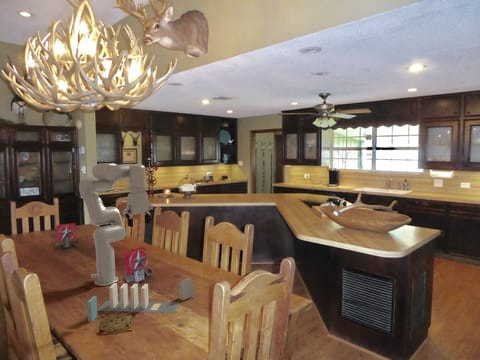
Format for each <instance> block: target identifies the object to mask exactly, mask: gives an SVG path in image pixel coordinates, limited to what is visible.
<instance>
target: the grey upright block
mask: <svg viewBox="0 0 480 360" xmlns="http://www.w3.org/2000/svg"><path fill="white" fill-rule="evenodd" d="M177 288H178V290H177V291H178V299H179V300H181V301H185V300H188V299H190V298H191V300H193V299H195V286H194V282H193V278H192V277H189V278H187V279H186V278H185V279H183V280H180V281H179V285H178V287H177Z"/></svg>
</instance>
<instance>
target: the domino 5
mask: <svg viewBox="0 0 480 360" xmlns="http://www.w3.org/2000/svg"><path fill="white" fill-rule="evenodd" d="M149 295H150V294H149V284H148V283H144V284H143V285H142V287H141V288H140V296H141V297H140V298H141V301H140V302H142V309H146V307H147V306H148V305H149V302H150V301H149V298H150V297H149Z"/></svg>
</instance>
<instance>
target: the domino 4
mask: <svg viewBox="0 0 480 360" xmlns="http://www.w3.org/2000/svg"><path fill="white" fill-rule="evenodd" d="M138 285H139V283H133V285H132V286H130V291H129V292H130V301H131V309H135V308H136V307H137V305H138V302H139V286H138Z"/></svg>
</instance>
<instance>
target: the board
mask: <svg viewBox="0 0 480 360" xmlns="http://www.w3.org/2000/svg"><path fill="white" fill-rule="evenodd" d="M179 304H180V302H168V301H149V305H148V306H147V307H146V309H142V302H141V301H138V305H137V307H136V308H135V309H131V300H128V305H127V306H126V307H125V308H124V309H121V307H120V300H118V304H117V305H116V306H115V307H114V308H110V300H106V301H105V302H104V303H103V304H102V305H101V306H100V307H99V308H97V312H122V313H123V312H124V313H165V314H166V313H167V314H172V313H173V314H175V312H176V310H177V308H178V307H179Z"/></svg>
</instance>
